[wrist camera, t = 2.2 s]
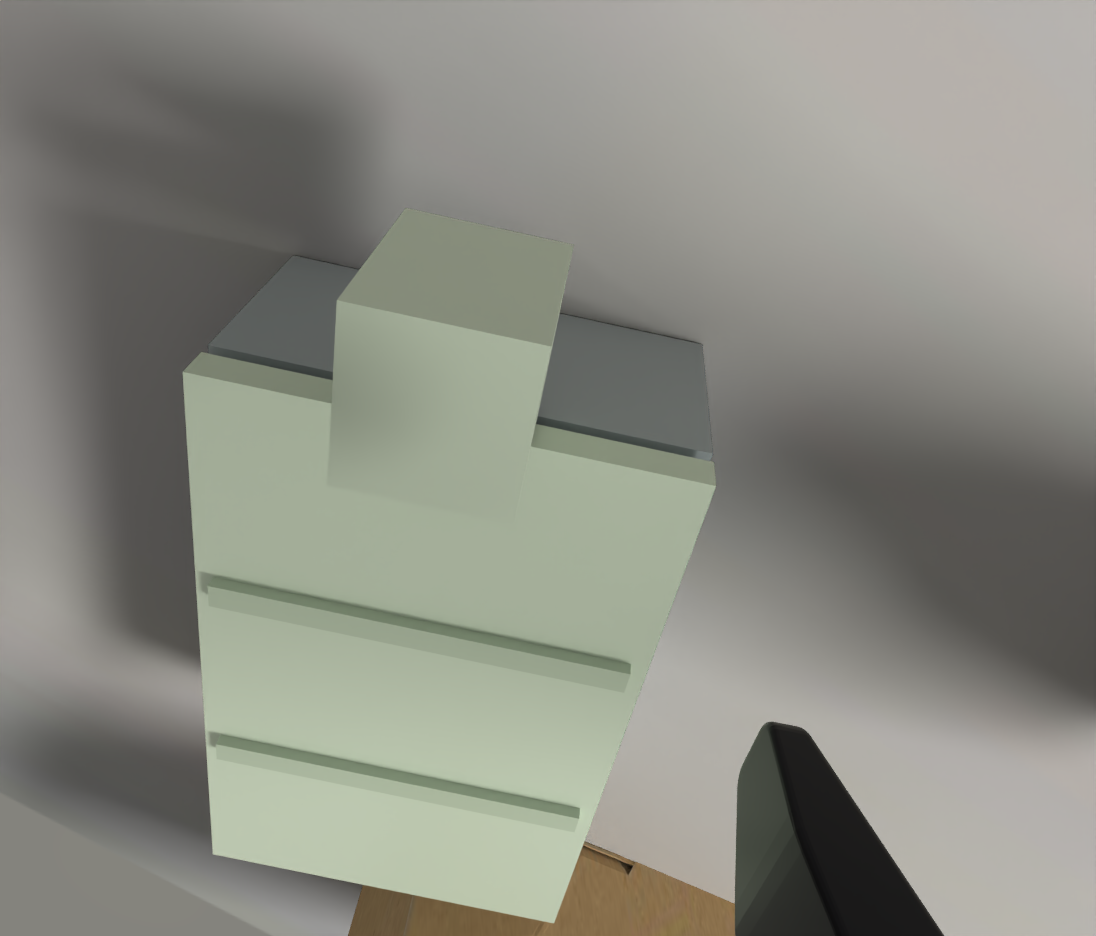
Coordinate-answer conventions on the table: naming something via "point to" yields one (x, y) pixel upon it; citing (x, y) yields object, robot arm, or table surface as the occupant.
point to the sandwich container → (562, 907)
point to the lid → (425, 583)
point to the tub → (572, 377)
